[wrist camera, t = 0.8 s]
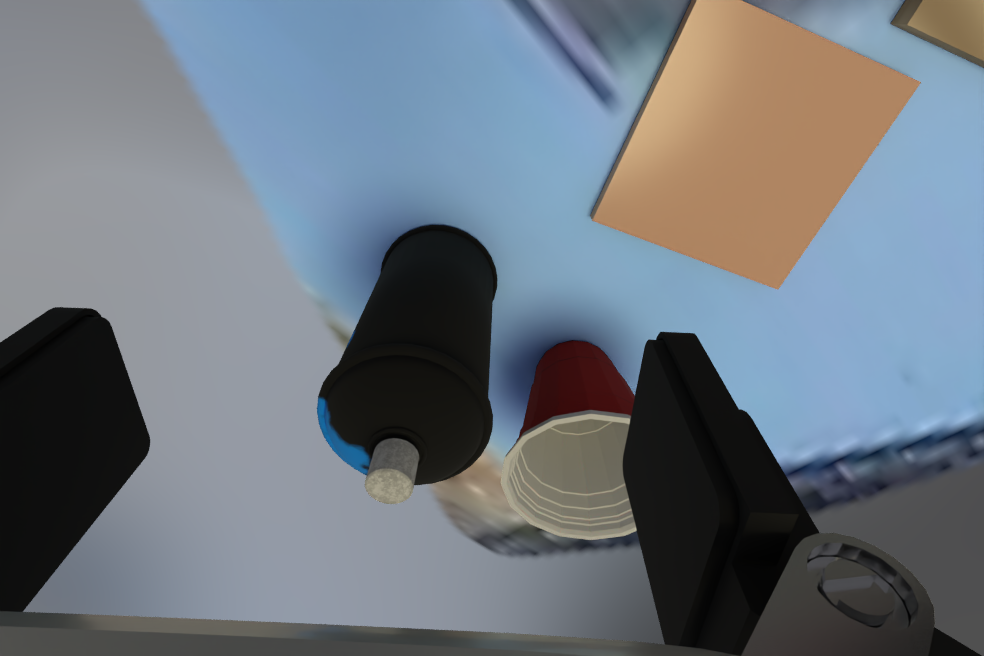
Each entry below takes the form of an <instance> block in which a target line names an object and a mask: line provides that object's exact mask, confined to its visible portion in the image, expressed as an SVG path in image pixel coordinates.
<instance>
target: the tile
mask: <svg viewBox="0 0 984 656" xmlns="http://www.w3.org/2000/svg"><path fill="white" fill-rule="evenodd" d="M920 83H921V82H919V81H917V80H915V79H913V78H910V77H908V76H906V75H904V74H902V73H899V72H897V71H895V70H893V69H891V68H888V67H886V66H884V65H882V64H880V63H878V62H875V61H873V60H871V59H869V58H867V57H864V56H862V55H860V54H858V53H856V52H853V51H851V50H849V49H847V48H845V47H843V46H840V45H838V44H836V43H834V42H832V41H829V40H827V39H825V38H823V37H821V36H818V35H816V34H814V33H812V32H810V31H807V30H805V29H803V28H801V27H799V26H797V25H794V24H792V23H790V22H788V21H786V20H783V19H781V18H779V17H777V16H775V15H772V14H770V13H768V12H766V11H764V10H762V9H759V8H757V7H755V6H753V5H751V4H748V3H746V2H744V1H742V0H691V3H690V5H689V7H688V9H687V11H686V13H685V15H684V17H683V20H682V22H681V24H680V26H679V28H678V30H677V32H676V34H675V37H674V39H673V41H672V43H671V45H670V47H669V49H668V52H667V54H666V56H665V58H664V60H663V62H662V64H661V66H660V69H659V71H658V73H657V75H656V77H655V79H654V81H653V83H652V86H651V88H650V90H649V92H648V94H647V96H646V98H645V100H644V103H643V105H642V107H641V109H640V111H639V113H638V115H637V117H636V120H635V122H634V124H633V126H632V128H631V130H630V132H629V134H628V137H627V139H626V141H625V143H624V145H623V147H622V149H621V151H620V154H619V156H618V158H617V160H616V162H615V164H614V166H613V168H612V171H611V173H610V175H609V177H608V179H607V181H606V183H605V185H604V188H603V190H602V192H601V194H600V196H599V198H598V200H597V202H596V205H595V207H594V209H593V211H592V213H591V215H590V216H591V219H592V221H595V222H597V223H600V224H603V225H605V226H608V227H611V228H613V229H616V230H619V231H622V232H624V233H627V234H630V235H632V236H635V237H638V238H640V239H643V240H646V241H649V242H651V243H654V244H657V245H659V246H662V247H665V248H667V249H670V250H673V251H675V252H678V253H681V254H684V255H686V256H689V257H692V258H694V259H697V260H700V261H702V262H705V263H708V264H710V265H713V266H716V267H719V268H721V269H724V270H727V271H729V272H732V273H735V274H737V275H740V276H743V277H745V278H748V279H751V280H754V281H756V282H759V283H762V284H764V285H767V286H770V287H772V288H775V289H779V287H780V286H781V285H782V283H783V282H784V280H785V279H786V277H787V276H788V274H789V273H790V271H791V270H792V269H793V267H794V266H795V264H796V263H797V261H798V260H799V258H800V257H801V256H802V254H803V253H804V251H805V250H806V248H807V247H808V245H809V244H810V242H811V241H812V240H813V238H814V237H815V235H816V234H817V232H818V231H819V229H820V228H821V227H822V225H823V224H824V222H825V221H826V219H827V218H828V216H829V215H830V213H831V212H832V211H833V209H834V208H835V206H836V205H837V203H838V202H839V200H840V199H841V198H842V196H843V195H844V193H845V192H846V190H847V189H848V187H849V186H850V184H851V183H852V182H853V180H854V179H855V177H856V176H857V174H858V173H859V171H860V170H861V169H862V167H863V166H864V164H865V163H866V161H867V160H868V158H869V157H870V155H871V154H872V153H873V151H874V150H875V148H876V147H877V145H878V144H879V142H880V141H881V140H882V138H883V137H884V135H885V134H886V132H887V131H888V129H889V128H890V126H891V125H892V124H893V122H894V121H895V119H896V118H897V116H898V115H899V113H900V112H901V111H902V109H903V108H904V106H905V105H906V103H907V102H908V100H909V99H910V97H911V96H912V95H913V93H914V92H915V90H916V89H917V87H918V86H919V84H920Z"/></svg>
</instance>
